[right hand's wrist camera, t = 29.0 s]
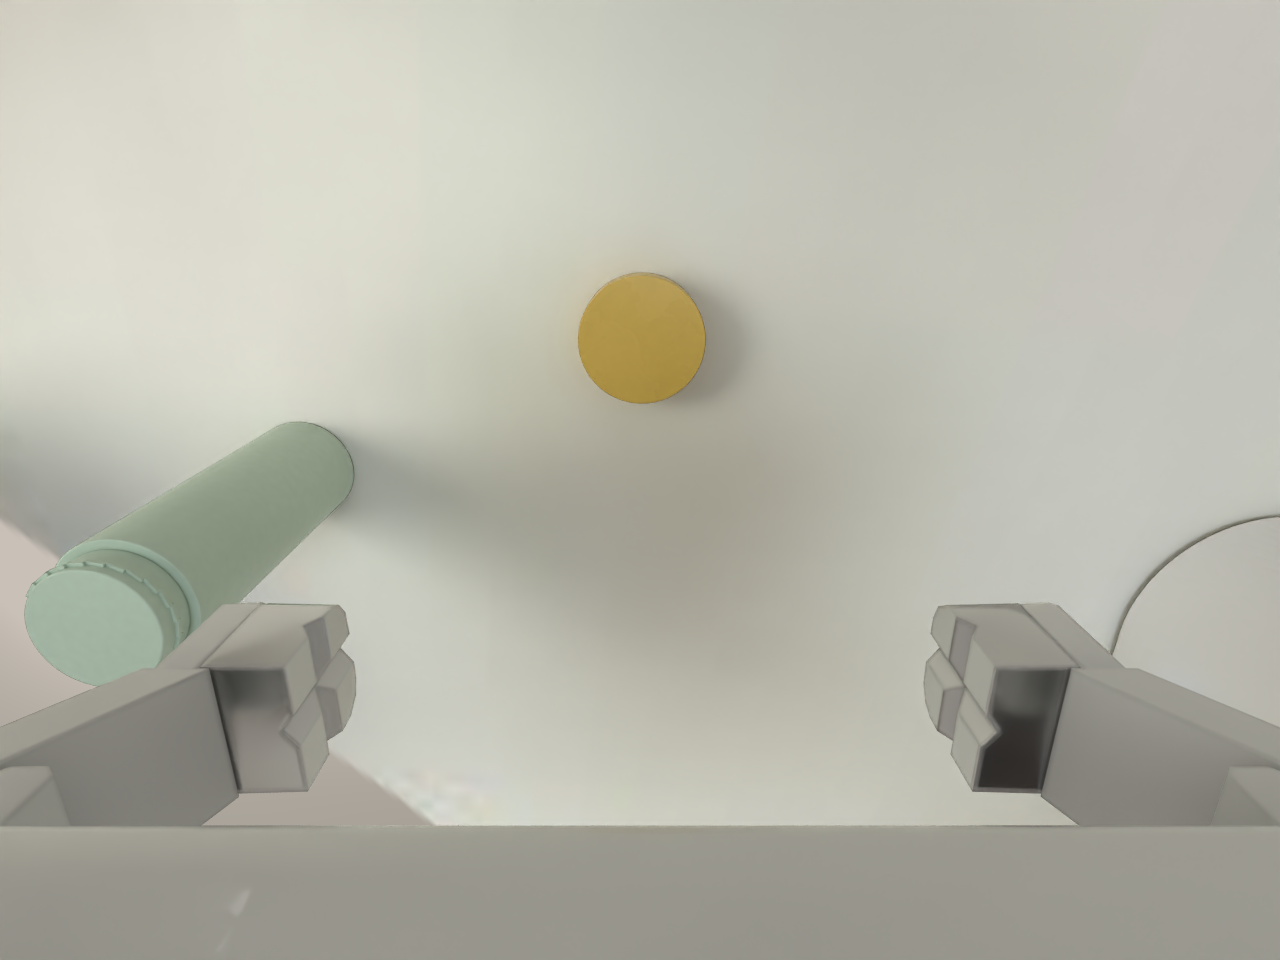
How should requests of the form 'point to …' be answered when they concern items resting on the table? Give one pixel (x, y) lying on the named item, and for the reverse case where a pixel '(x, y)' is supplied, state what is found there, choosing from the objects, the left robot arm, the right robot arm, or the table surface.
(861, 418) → the table surface
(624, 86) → the table surface
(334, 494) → the pale green cylinder
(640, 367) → the lid
